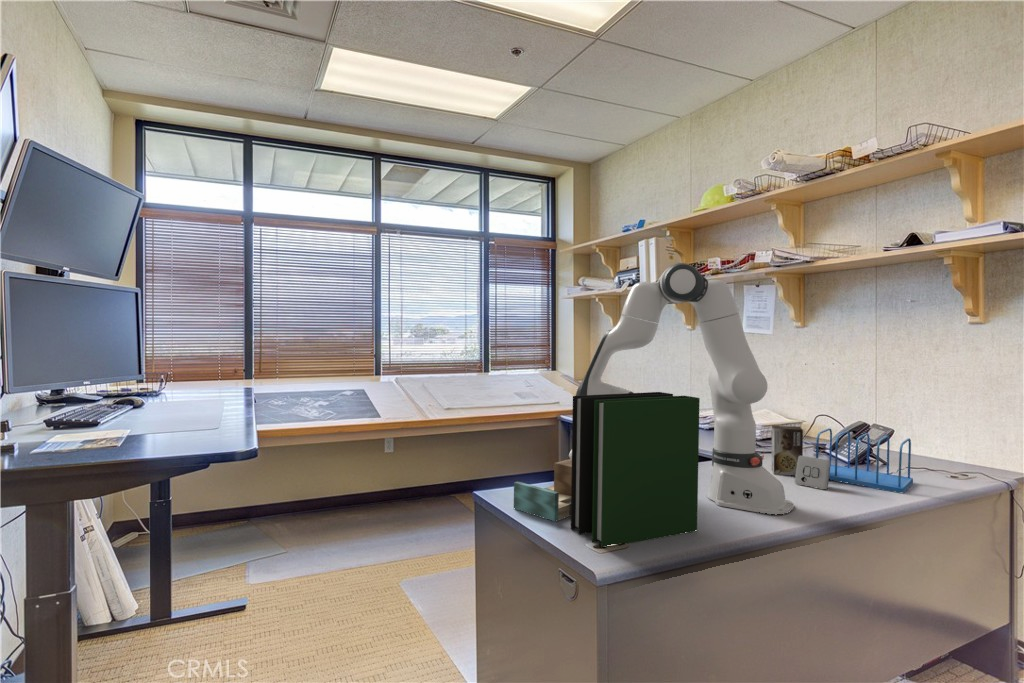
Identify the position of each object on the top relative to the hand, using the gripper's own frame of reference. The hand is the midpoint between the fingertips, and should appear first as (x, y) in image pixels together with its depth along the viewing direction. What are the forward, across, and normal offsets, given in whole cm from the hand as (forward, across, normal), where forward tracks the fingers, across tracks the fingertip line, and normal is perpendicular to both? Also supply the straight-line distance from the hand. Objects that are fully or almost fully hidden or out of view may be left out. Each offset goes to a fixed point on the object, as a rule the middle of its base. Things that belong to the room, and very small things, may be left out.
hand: (589, 478), depth 157 cm
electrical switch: (-39, +43, +46) cm, 74 cm away
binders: (+14, +23, -7) cm, 28 cm away
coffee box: (-47, +32, +54) cm, 78 cm away
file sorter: (-53, +53, +60) cm, 96 cm away
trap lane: (+14, 0, -7) cm, 16 cm away
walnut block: (+8, 0, -5) cm, 9 cm away
